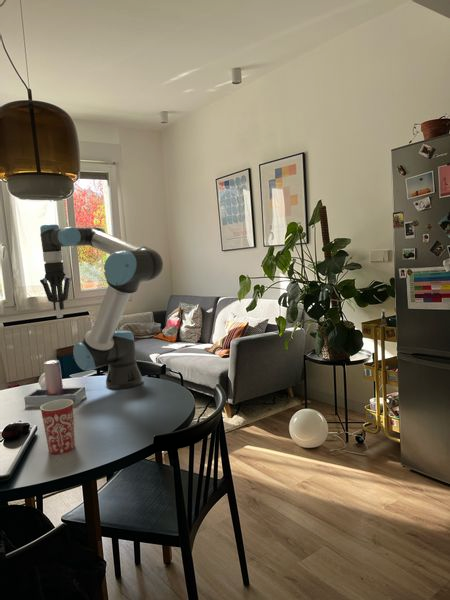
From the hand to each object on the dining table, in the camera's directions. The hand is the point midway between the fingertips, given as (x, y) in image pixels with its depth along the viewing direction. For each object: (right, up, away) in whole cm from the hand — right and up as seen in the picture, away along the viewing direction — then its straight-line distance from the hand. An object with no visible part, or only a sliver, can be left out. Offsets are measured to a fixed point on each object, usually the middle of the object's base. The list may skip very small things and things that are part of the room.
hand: (60, 317), depth 193 cm
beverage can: (+4, -31, -17) cm, 36 cm away
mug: (+22, -36, -59) cm, 73 cm away
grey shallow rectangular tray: (+5, -32, -17) cm, 37 cm away
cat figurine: (-4, -31, 0) cm, 32 cm away
